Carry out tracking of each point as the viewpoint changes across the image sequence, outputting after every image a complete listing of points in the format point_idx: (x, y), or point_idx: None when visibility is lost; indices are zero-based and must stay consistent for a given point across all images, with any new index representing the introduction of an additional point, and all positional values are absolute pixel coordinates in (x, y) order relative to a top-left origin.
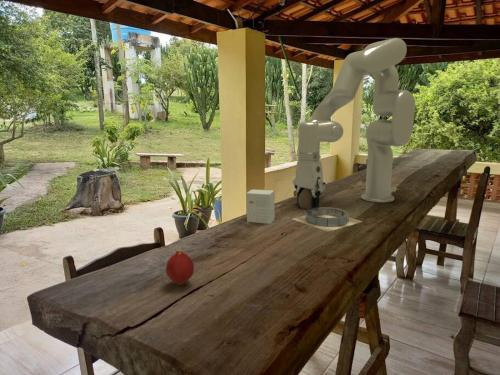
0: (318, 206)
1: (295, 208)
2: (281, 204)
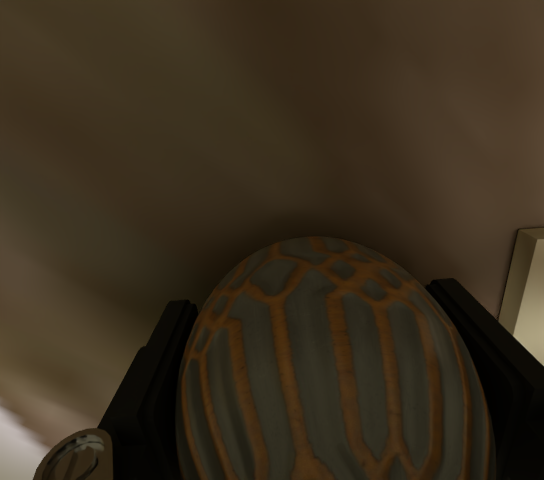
0: (451, 283)
1: None
2: (26, 381)
